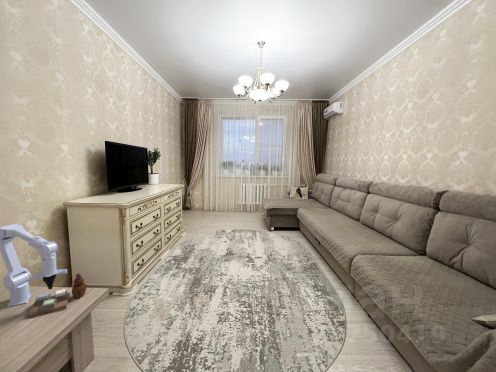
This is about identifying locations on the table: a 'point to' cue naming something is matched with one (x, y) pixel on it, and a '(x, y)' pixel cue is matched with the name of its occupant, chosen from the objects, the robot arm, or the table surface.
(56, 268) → the robot arm
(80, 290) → the wooden figurine
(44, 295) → the grey button
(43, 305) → the green button
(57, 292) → the white button
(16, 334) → the table surface
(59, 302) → the console
